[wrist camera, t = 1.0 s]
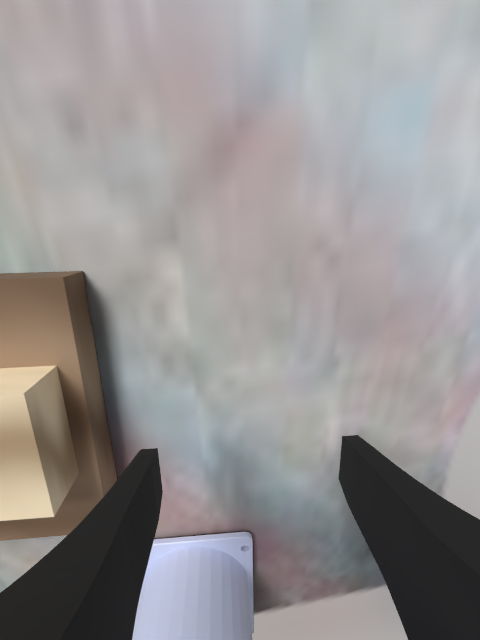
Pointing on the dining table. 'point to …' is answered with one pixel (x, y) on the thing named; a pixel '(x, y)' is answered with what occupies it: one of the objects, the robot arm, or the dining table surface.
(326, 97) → the dining table surface
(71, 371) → the walnut board
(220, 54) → the dining table surface
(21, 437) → the oak tile
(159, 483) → the robot arm
